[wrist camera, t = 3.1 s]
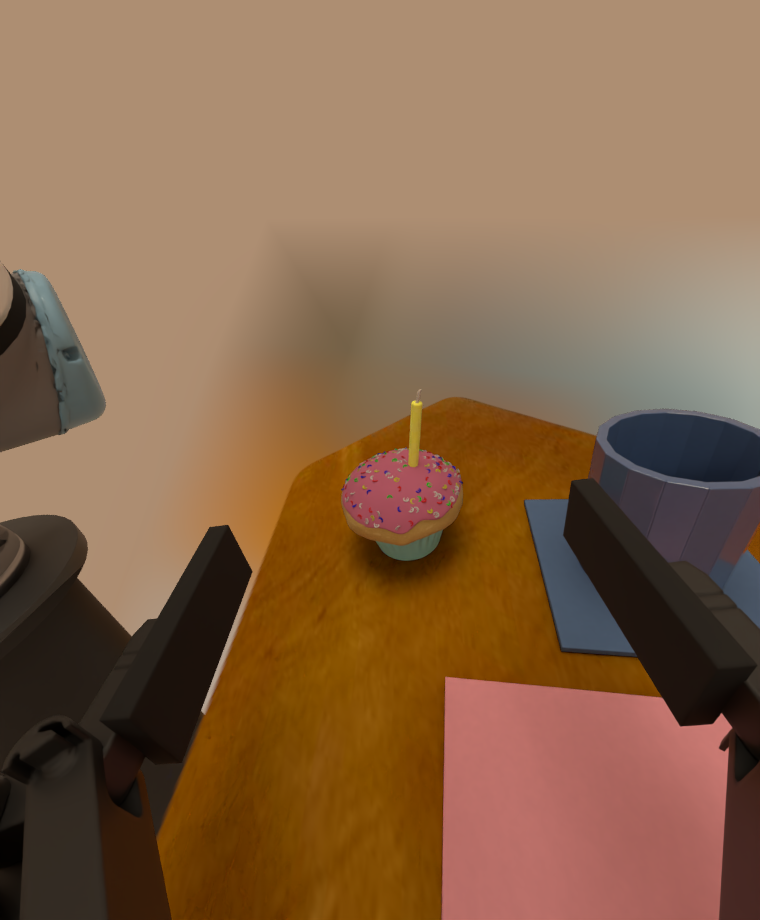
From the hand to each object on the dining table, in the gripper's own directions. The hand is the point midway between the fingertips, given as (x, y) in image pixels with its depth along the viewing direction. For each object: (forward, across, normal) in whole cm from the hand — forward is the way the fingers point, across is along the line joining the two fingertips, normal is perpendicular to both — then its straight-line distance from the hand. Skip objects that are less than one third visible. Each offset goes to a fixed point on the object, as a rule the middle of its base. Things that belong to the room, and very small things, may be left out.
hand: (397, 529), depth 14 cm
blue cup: (+5, +14, -10) cm, 18 cm away
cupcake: (+10, 0, -10) cm, 14 cm away
